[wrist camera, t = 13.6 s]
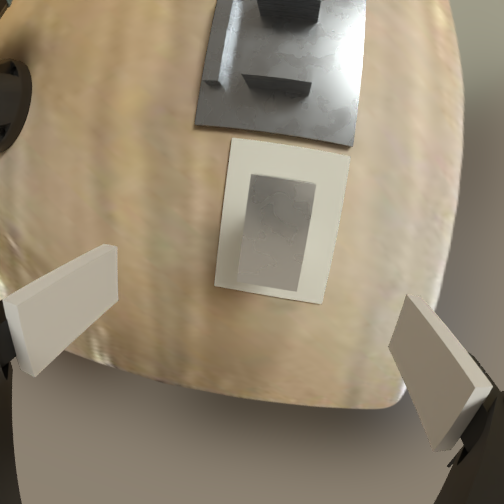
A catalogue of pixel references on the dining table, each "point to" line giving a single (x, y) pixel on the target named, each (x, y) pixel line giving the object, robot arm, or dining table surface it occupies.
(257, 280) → the gray rectangular block
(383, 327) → the dining table surface
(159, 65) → the dining table surface
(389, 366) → the dining table surface
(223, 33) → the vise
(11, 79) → the robot arm
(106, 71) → the dining table surface
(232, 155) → the mat
